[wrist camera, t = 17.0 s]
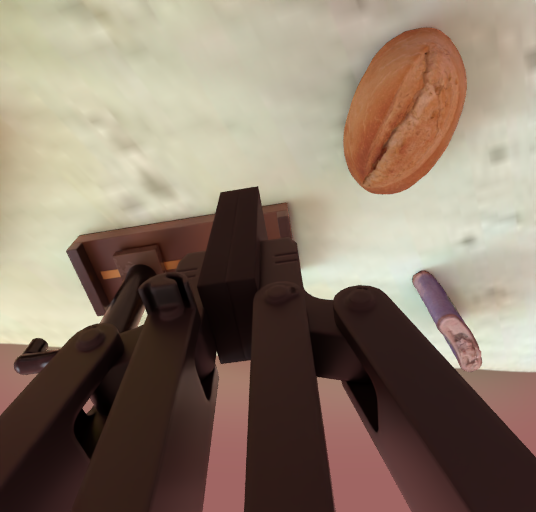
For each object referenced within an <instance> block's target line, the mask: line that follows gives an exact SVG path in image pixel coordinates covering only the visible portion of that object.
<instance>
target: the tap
mask: <svg viewBox="0 0 536 512" xmlns="http://www.w3.org/2000/svg"><path fill="white" fill-rule="evenodd" d="M112 257H113V259H114V262H115V264H116V266H117V269H118V271H119V274H120V276H121V278H122V281H123V282H122V283H121V285H120V287H119V289H118V291H117V293H116V294H115V296H114V298H113V300H112V302H111V304H110V306H109V307H108V309H107V311H106V313H105V315H104V317H103V318H102V320H101V322H100V323H109V324H113V325H114V326H115V327H116V328H117V330H118V332H119V334H120V333H123V332H125V331H128V330H131V329H134V328H137V327H138V325H139V322H140V320H141V317H142V315H143V313H144V310H145V306H144V304H143V301H142V299H141V296H140V294H139V291H138V288H139V287H140V286H141V285H142V283H144V282H145V281H146V280H148V279H149V278H151V277H154V276H156V275H158V274H162V273H166V272H167V271H166V268H165V265H164V262H163V259H162V256H161V253H160V250H159V247H158V245H153V246H146V247H140V248H133V249H127V250H120V251H116V252H115V253H114V255H113V256H112ZM47 348H48V343H47V342H46V341H45V340H43V339H40V338H35V339H33V340H32V341H31V342H30V344H29V345H28V347H27V348H26V349H25V351H24V352H23V353H22V355H20V356H19V357H17V359H16V360H15V362H14V369H15V371H16V372H17V373H19V374H22V375H28V374H35V373H39V372H40V371H41V370H42V369H43V368H44V367H45V366H46V365H47V364H48V362H49V361H50V360H51V359H52V358H53V357H54V356H55V355H56V354H57V353H58V351H59V350H60V349H55V350H47ZM46 350H47V351H46Z"/></svg>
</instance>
